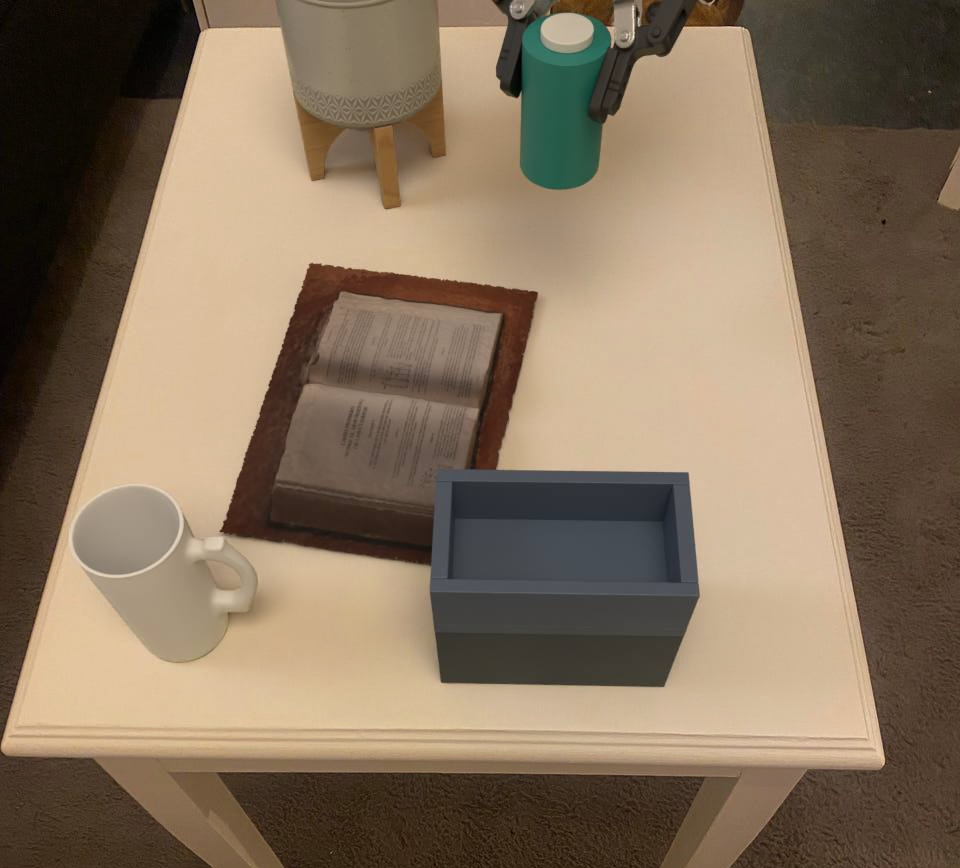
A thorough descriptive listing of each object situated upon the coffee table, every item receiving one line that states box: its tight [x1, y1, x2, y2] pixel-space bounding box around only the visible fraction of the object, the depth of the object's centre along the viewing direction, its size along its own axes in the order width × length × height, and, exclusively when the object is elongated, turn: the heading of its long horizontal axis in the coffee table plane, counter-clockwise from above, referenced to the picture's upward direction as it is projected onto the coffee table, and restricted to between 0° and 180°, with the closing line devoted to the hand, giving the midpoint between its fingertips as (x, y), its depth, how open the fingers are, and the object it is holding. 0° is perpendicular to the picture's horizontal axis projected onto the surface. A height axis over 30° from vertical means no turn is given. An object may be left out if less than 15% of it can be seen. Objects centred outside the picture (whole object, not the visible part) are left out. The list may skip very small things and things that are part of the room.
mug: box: [67, 482, 259, 663], centre depth 61 cm, size 10×7×12 cm, turn 87°
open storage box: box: [429, 469, 701, 688], centre depth 60 cm, size 15×9×12 cm, turn 88°
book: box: [218, 262, 539, 566], centre depth 74 cm, size 20×28×4 cm
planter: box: [274, 0, 447, 210], centre depth 81 cm, size 13×13×18 cm
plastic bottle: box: [519, 12, 612, 191], centre depth 61 cm, size 5×5×9 cm
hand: (552, 105), depth 59 cm, fingers closed on plastic bottle, 5 cm apart
